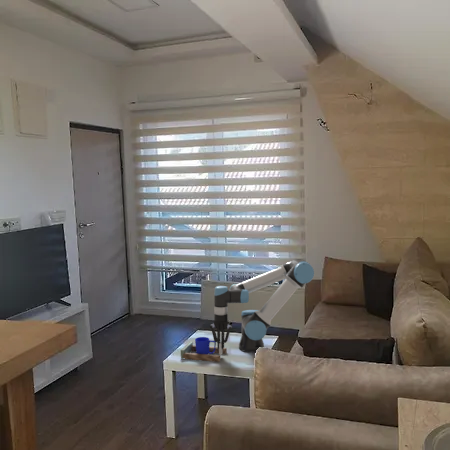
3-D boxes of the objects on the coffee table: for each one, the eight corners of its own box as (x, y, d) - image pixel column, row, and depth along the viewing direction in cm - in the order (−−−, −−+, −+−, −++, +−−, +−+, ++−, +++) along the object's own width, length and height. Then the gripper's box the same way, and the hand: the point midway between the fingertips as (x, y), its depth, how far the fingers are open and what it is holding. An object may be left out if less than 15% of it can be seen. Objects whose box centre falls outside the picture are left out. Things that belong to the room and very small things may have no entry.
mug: (214, 359, 268) (214, 342, 267) (193, 358, 270) (193, 341, 269) (217, 354, 276) (217, 337, 275) (197, 353, 278) (196, 336, 277)
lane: (226, 352, 278) (226, 344, 277) (219, 361, 263) (219, 353, 263) (189, 349, 284) (189, 341, 283) (180, 358, 269) (180, 350, 269)
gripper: (233, 312, 270) (233, 352, 272) (212, 311, 274) (211, 350, 275) (230, 315, 263) (229, 357, 265) (208, 314, 266) (208, 355, 268)
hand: (220, 353), depth 270 cm, fingers closed
